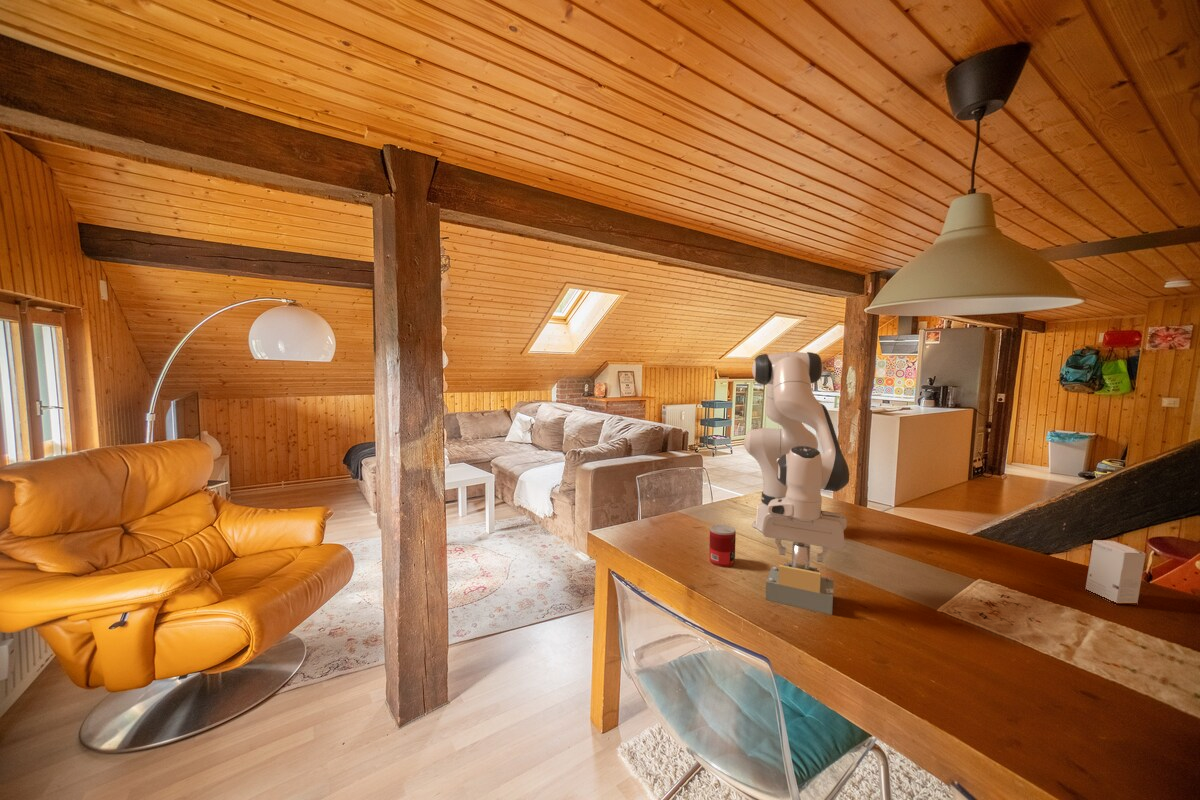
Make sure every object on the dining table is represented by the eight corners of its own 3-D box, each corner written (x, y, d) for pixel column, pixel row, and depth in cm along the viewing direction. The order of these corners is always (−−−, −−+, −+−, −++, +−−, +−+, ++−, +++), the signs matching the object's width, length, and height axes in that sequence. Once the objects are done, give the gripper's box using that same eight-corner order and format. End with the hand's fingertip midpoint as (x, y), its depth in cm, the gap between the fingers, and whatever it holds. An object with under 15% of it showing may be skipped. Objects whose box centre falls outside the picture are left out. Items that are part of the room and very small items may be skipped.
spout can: (792, 575, 127) (793, 535, 126) (809, 579, 125) (811, 538, 124) (790, 582, 123) (791, 540, 122) (808, 585, 121) (810, 543, 120)
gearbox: (771, 583, 132) (772, 550, 132) (832, 597, 125) (834, 561, 124) (765, 599, 124) (766, 563, 123) (832, 614, 116) (833, 576, 115)
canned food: (735, 568, 142) (736, 534, 142) (709, 566, 144) (710, 532, 143) (733, 558, 150) (734, 525, 149) (708, 555, 152) (709, 523, 151)
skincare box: (1084, 590, 129) (1089, 539, 128) (1106, 590, 129) (1111, 539, 127) (1118, 606, 120) (1123, 551, 119) (1141, 606, 120) (1146, 551, 119)
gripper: (847, 510, 120) (844, 561, 121) (765, 499, 130) (763, 546, 131) (847, 518, 115) (844, 570, 116) (761, 505, 124) (760, 554, 126)
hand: (800, 557), depth 124 cm, fingers open, 8 cm apart
